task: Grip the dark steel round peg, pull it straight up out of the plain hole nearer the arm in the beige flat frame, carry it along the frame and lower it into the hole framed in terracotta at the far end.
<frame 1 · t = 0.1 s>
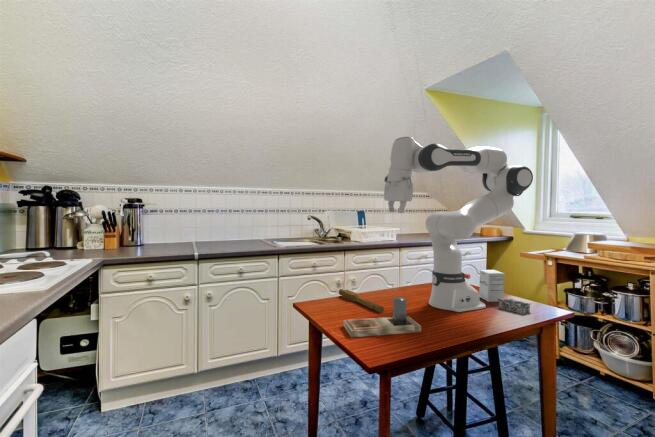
hand: (395, 212, 135), 39 cm above the table, tool pointing down, fingers open, 8 cm apart
steel peg: (399, 327, 116), resting in beige flat frame
beige flat frame: (381, 328, 115), on the table
turned wooden spindle: (358, 303, 145), on the table
egg carton: (514, 310, 137), on the table
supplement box: (490, 299, 150), on the table
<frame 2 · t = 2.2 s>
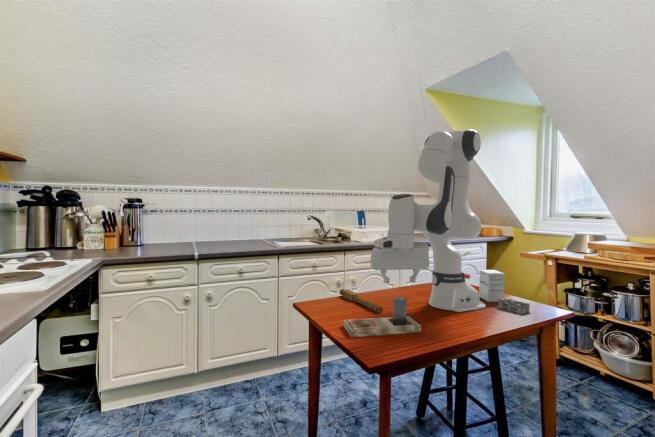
hand: (399, 282, 115), 16 cm above the table, tool pointing down, fingers open, 8 cm apart
nothing on the table moved.
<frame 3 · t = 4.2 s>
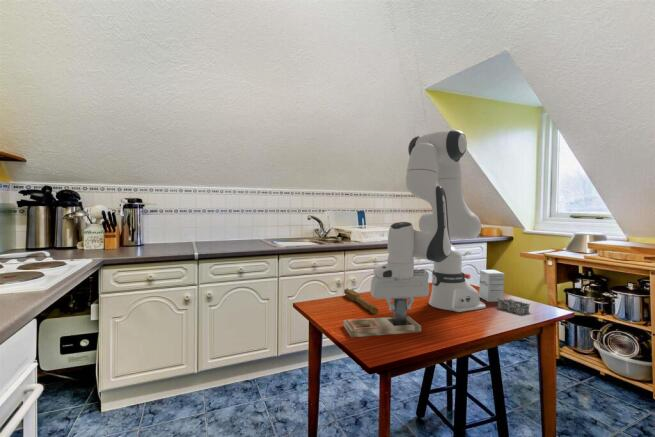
hand: (399, 310, 116), 6 cm above the table, tool pointing down, fingers closed on steel peg, 4 cm apart
steel peg: (399, 327, 116), resting in beige flat frame, touching gripper
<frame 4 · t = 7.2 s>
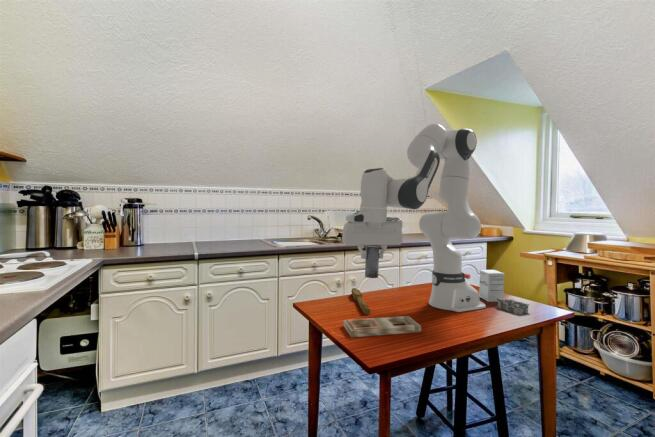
hand: (371, 258, 113), 24 cm above the table, tool pointing down, fingers closed on steel peg, 4 cm apart
steel peg: (371, 276, 113), point 18 cm above the table, touching gripper
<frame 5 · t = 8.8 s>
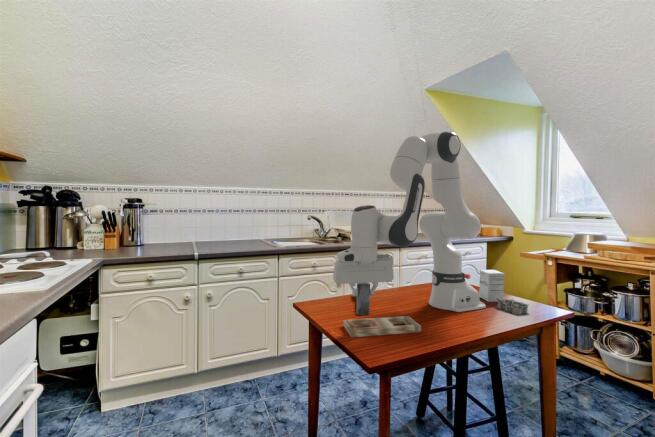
hand: (363, 295, 113), 12 cm above the table, tool pointing down, fingers closed on steel peg, 4 cm apart
steel peg: (363, 313, 113), point 6 cm above the table, touching gripper
when the fingers open (7 cm above the table, at t = 10.2 s): steel peg stays where it is, resting in beige flat frame.
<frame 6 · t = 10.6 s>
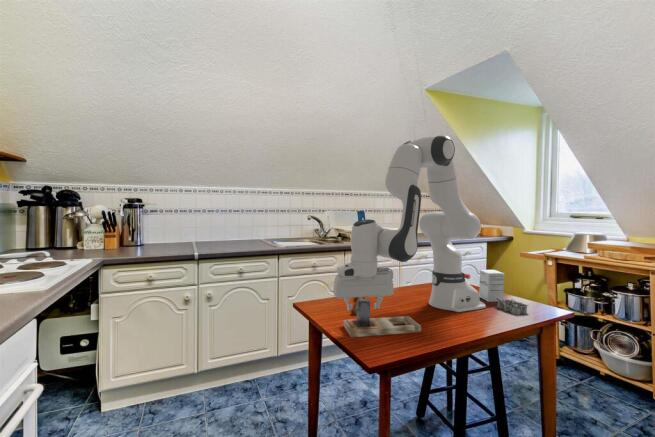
hand: (363, 309, 114), 7 cm above the table, tool pointing down, fingers open, 8 cm apart
steel peg: (363, 330, 114), resting in beige flat frame
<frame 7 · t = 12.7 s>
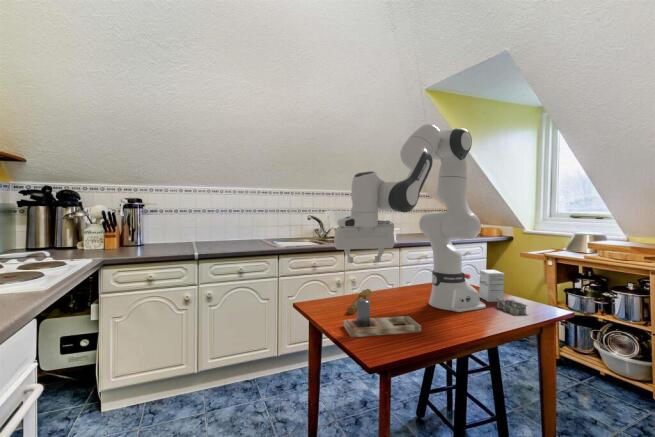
hand: (364, 262, 113), 23 cm above the table, tool pointing down, fingers open, 8 cm apart
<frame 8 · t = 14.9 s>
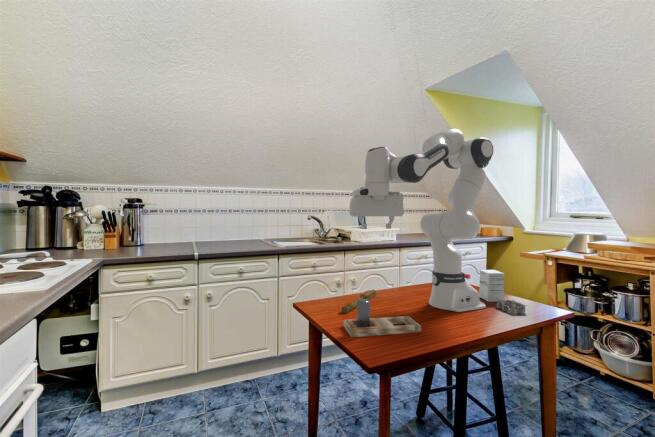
hand: (376, 228, 125), 33 cm above the table, tool pointing down, fingers open, 8 cm apart
at the end: steel peg 0.1 cm from the target spot on the beige flat frame, point 0.0 cm above the beige flat frame's base; steel peg tilted 0°; the gripper is holding nothing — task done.
